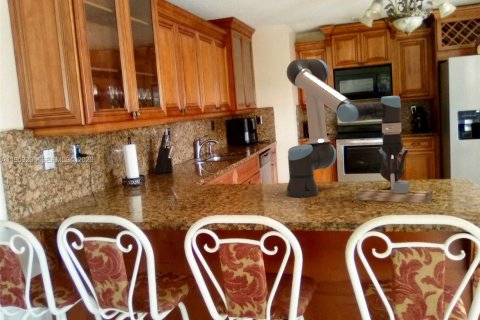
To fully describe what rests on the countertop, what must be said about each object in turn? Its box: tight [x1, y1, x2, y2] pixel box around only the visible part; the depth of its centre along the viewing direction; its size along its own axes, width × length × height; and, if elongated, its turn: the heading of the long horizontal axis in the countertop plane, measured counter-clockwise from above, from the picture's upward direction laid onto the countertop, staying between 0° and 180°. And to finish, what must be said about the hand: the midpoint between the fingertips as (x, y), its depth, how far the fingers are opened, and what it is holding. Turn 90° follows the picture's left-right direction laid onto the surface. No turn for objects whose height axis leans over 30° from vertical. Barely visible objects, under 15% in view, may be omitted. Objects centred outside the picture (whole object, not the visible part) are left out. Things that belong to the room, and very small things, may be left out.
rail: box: [354, 188, 434, 204], centre depth 174 cm, size 30×8×4 cm, turn 58°
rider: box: [393, 180, 410, 194], centre depth 171 cm, size 5×7×6 cm
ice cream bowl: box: [379, 158, 406, 191], centre depth 192 cm, size 11×11×15 cm
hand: (393, 189), depth 173 cm, fingers closed
